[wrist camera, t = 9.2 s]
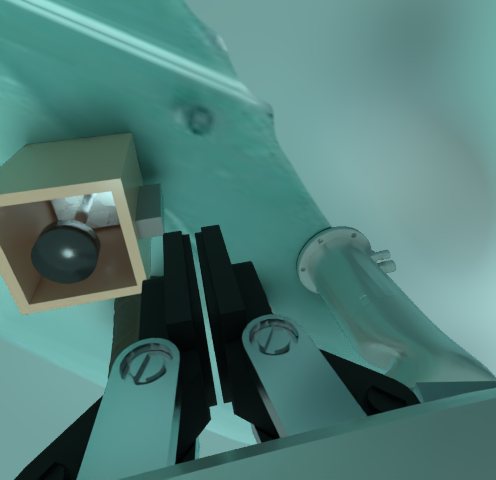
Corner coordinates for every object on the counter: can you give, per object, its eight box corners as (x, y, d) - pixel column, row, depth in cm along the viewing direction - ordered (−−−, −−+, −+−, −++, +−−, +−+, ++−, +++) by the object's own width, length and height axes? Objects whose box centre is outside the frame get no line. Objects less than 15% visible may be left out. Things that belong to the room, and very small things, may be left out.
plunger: (121, 149, 43) (105, 202, 30) (138, 219, 48) (131, 291, 35) (38, 160, 42) (-17, 220, 28) (64, 230, 46) (27, 309, 33)
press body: (152, 130, 44) (149, 174, 31) (169, 217, 50) (173, 287, 37) (25, 144, 42) (-37, 199, 29) (59, 234, 48) (21, 314, 35)
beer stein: (176, 336, 61) (187, 446, 44) (108, 331, 58) (90, 448, 40) (198, 256, 56) (221, 346, 38) (125, 245, 52) (113, 337, 35)
